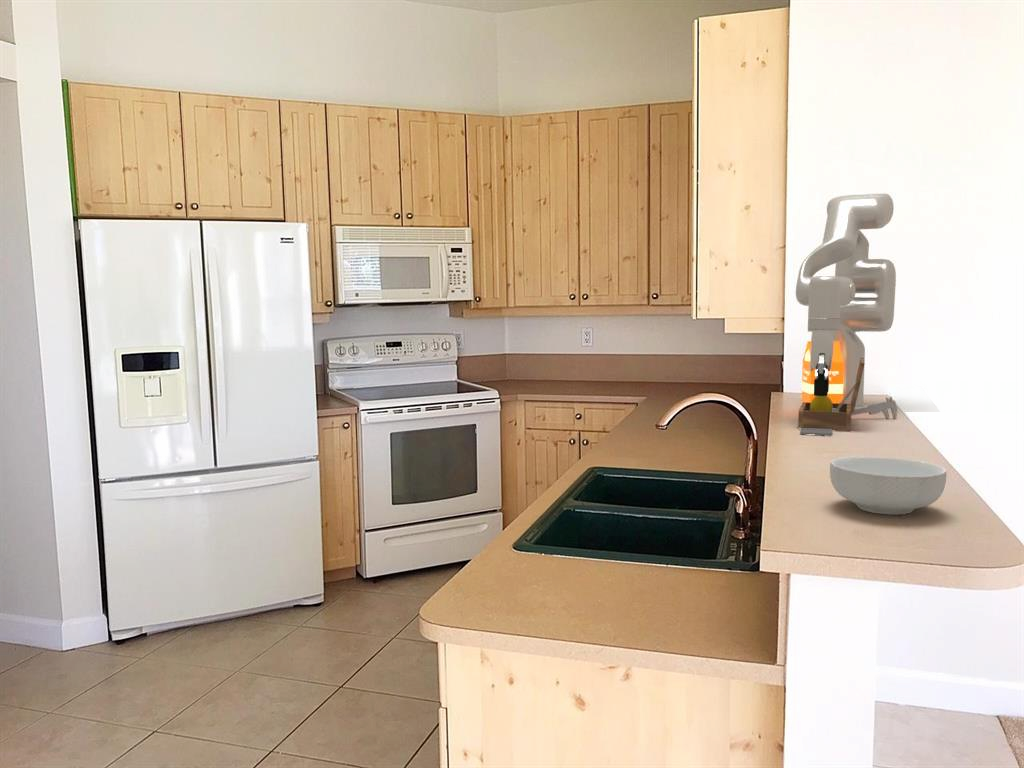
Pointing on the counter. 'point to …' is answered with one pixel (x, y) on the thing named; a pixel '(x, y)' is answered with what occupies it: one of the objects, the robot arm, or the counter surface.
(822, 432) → the coaster
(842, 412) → the case
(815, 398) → the lemon
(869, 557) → the counter surface
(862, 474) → the cereal bowl
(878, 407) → the caliper
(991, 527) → the counter surface
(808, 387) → the orange juice
